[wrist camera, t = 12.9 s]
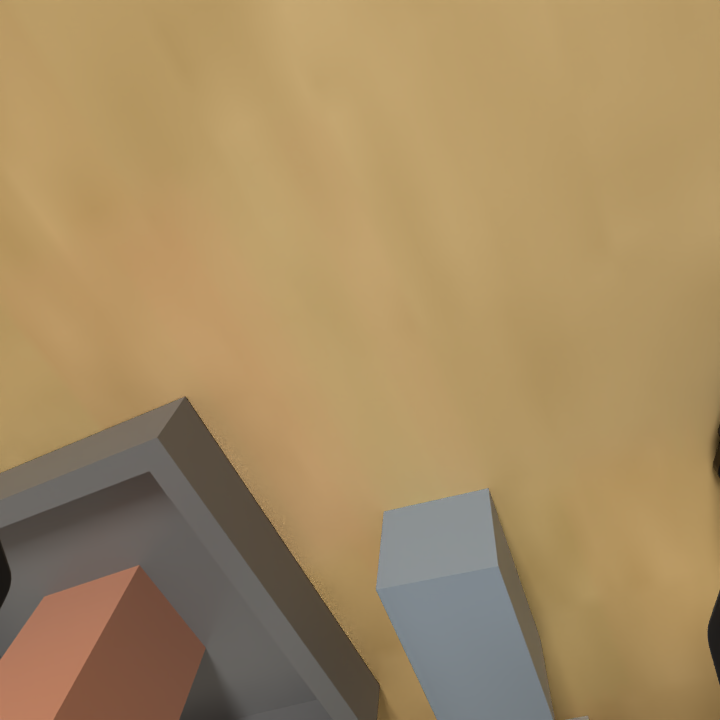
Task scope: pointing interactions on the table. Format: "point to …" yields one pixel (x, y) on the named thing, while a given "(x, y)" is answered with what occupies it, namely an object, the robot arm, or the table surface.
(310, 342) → the table surface
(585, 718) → the grey brick
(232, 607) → the tray
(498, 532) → the slate brick
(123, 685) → the column
